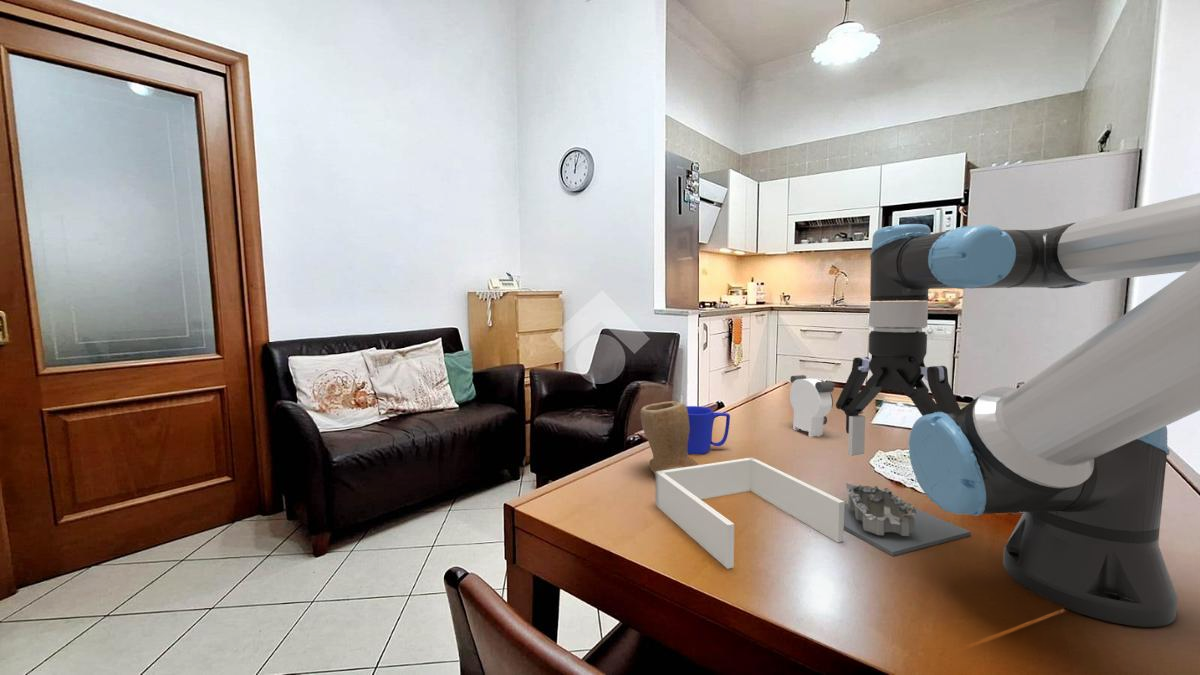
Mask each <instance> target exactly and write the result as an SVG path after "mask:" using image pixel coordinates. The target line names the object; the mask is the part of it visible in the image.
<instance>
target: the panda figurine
mask: <svg viewBox="0 0 1200 675" xmlns="http://www.w3.org/2000/svg"><path fill="white" fill-rule="evenodd" d="M789 380H790V383H791V386H790V389H789V399H790V400H789V401H790V405H791V407H792V409H793V423H792V424H793V425H792V430H793V429H794V430H796V431H803V432H808V437H809V436H810V437H809V438H813V437H812V436H817V437H822V436H823V432H824V426H825V425H826V424H827V423H828V418H827V416H828V414H829V413H830V411H831V410H832V408H833V406H834V398H833V395H832V393H833V391H834V389H835V388H834V387H835V386H834V383H833V382H832V381H829V380H828V381H822V380H820V379H817V378H807V376H806V375H803V374H801V375H799V374H798V375H791V376H790V379H789ZM831 392H832V393H831ZM799 429H801V430H799ZM794 430H793V431H794ZM821 435H822V436H821Z"/></svg>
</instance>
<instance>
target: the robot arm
mask: <svg viewBox="0 0 1200 675" xmlns="http://www.w3.org/2000/svg"><path fill="white" fill-rule="evenodd" d="M869 258H870V278H869V279H870V282H869V283H870V286H869V288H870V292H869V293H870V302H869V317H868V319H869V320H868V321H869V322H868V323H869V324H868V326H869V327H870V328H873V330H870V332H869V333H868V353H869V354H870V355H871V358H870V357H868V356H865V357H864V356H862V357H861V356H860V357H854V358H853V360H852V365H851V370H850V374H849V375H848V378H847V380H846V382H845V384H844V386H843V388H842V390H841V392H840V393H839V397H838V398H837V401H836V403H835V407H836V409H837V410H842V412H844V414H845V416H846V417H845V418H846V419H845V431H846V433H847V434H848V446H847V449H848V451H847V453H848V455H849V456H851V457H852V456H860V455H864V454H865V439H866V437H865V436H866V434H865V433H866V416H865V415H864V412H863V411H864V410H865V408H866V407H868V406H869V404H870V403H871V402H872V401H873V400H874V399H875V398H876V397H877V395H878V394H879V393H880V392H881V391H882V390H883V391H889V390H890V391H893V392H895V393H900V394H901V393H904V395H905V396H906V397H907V398H910V400H911V401H912V404H914V405H915V408H916V409H917V410H918V412H919V413H920V414H921V416H920V417H919V418H917V419H916V420H915V422H914V423H913V425H912V427H911V429H910V433H909V438H908V447H909V448H908V449H909V450H908V454H909V460H910V464H911V468H912V471H913V474H914V476H915V479H916V481H917V483H918V485H919V486H920V488H921V489H922V492H924V494H925V495H926V497H927V498H928V499H929V500H930V501H931V502H933V503H934V504H936V505H937V506H938V507H939V509H941V510H944V511H945V512H948V513H952V514H955V515H956V514H957V515H969V516H974V517H978V516H979V517H980V516H981V515H990V514H1014V513H1022V514H1021V517H1020V519H1019V520H1018V522H1017V524H1016V525H1015V526H1014V529H1013V531H1012V533H1011V534H1010V536H1009V538H1008V540H1007V542H1006V544H1005V546H1004V547H1003V555H1002V567H1003V568H1004V570H1005V572H1006V573H1007V574H1008V575H1009V576H1010V577H1011V578H1012V579H1013V581H1014V580H1015V581H1016V582H1017V583H1018V584H1019V585H1021V586H1023V587H1024V588H1026V589H1028V590H1029V591H1031V592H1033V593H1034V594H1036V595H1038V596H1039V597H1043V598H1044V599H1047V600H1049V601H1051V602H1052V603H1055V604H1059V605H1060V606H1063V607H1064V609H1066V610H1069V611H1071V612H1075V613H1077V614H1081V615H1083V616H1084V615H1085V616H1088V617H1090V618H1095V619H1098V620H1100V621H1101V620H1102V621H1105V622H1109V623H1114V624H1121V625H1126V626H1133V627H1145V628H1151V627H1152V628H1153V627H1154V628H1155V627H1163V626H1167V625H1171V624H1172V623H1173V622H1174V621H1175V620H1176V619H1177V611H1178V610H1177V609H1178V595H1177V592H1176V589H1175V586H1174V583H1173V580H1172V578H1171V575H1170V572H1169V569H1168V567H1167V565H1166V564H1167V563H1166V562H1165V558H1164V556H1163V553H1162V551H1161V548H1160V545H1159V542H1160V540H1159V539H1160V527H1161V520H1162V519H1161V518H1162V511H1163V510H1162V509H1163V508H1162V507H1163V499H1164V498H1163V497H1164V489H1165V478H1166V467H1167V456H1169V455H1170V451H1171V450H1170V449H1169V448H1168V427H1167V426H1169V425H1171V424H1173V423H1175V422H1177V421H1179V420H1182V419H1183V418H1185V417H1186V418H1187V417H1188V416H1190V415H1193V414H1195V413H1197V412H1199V411H1200V192H1198V193H1194V194H1190V195H1186V196H1182V197H1181V196H1180V197H1177V198H1173V199H1169V200H1164V201H1160V202H1156V203H1151V204H1147V205H1143V206H1138V207H1134V208H1130V209H1126V210H1121V211H1118V212H1113V213H1109V214H1104V215H1100V216H1095V217H1092V218H1088V219H1083V220H1078V221H1077V222H1071V223H1066V224H1062V225H1059V226H1054V227H1049V228H1043V229H1042V228H1041V229H1001V228H999V227H997V226H995V225H990V224H981V225H980V224H979V225H972V226H970V225H969V226H967V225H964V226H959V227H956V228H955V229H949V230H946V231H945V230H944V231H940V232H936V233H931V228H930V227H929V226H928V225H927V224H923V223H922V224H921V223H908V224H907V223H906V224H905V223H904V224H896V225H891V226H890V225H889V226H885V227H884V226H883V227H880V228H879V229H876V230H875V232H874V233H873V235H872V244H871V251H870V255H869ZM1176 273H1182V274H1181V275H1180V276H1178V277H1177V278H1176V279H1174V280H1173V281H1171V282H1169V283H1168V284H1167V285H1166V286H1164V287H1162V288H1161V289H1160V290H1158V291H1157V292H1155V293H1153V294H1152V295H1151V296H1149V297H1148V298H1147V299H1145V300H1144V301H1142V302H1141V303H1139V304H1138V305H1136V306H1135V307H1133V308H1132V309H1131V310H1129V311H1127V312H1126V313H1125V314H1123V315H1122V316H1121V317H1118V319H1116V320H1114V321H1113V322H1112V323H1110V324H1109V325H1107V326H1105V327H1104V328H1103V329H1102V330H1100V331H1099V332H1097V333H1096V334H1094V335H1093V336H1090V338H1088V339H1087V340H1085V341H1084V342H1082V343H1081V344H1080V345H1078V346H1077V347H1075V348H1074V349H1072V350H1071V351H1069V352H1068V353H1067V354H1064V356H1062V357H1061V358H1059V359H1058V360H1056V361H1054V362H1053V363H1052V364H1050V365H1049V366H1048V367H1046V368H1045V369H1043V370H1042V371H1040V372H1039V373H1037V374H1036V375H1034V376H1033V377H1032V378H1030V379H1029V380H1027V381H1025V382H1024V383H1023V384H1022V385H1020V386H1019V387H1012V386H1011V387H1009V386H999V387H995V388H991V389H989V390H987V391H985V392H983V393H981V394H980V395H979V396H977V397H976V398H974V399H973V400H972V401H971V402H969V403H967V405H965V406H964V407H962V408H961V407H960V406H959V402H958V401H957V399H956V397H955V394H954V391H953V389H952V387H951V385H950V383H949V374H948V367H947V366H945V365H938V366H937V365H935V366H934V365H933V366H926V365H925V362H924V361H925V360H924V359H925V357H926V355H927V352H928V351H927V350H928V348H927V346H928V334H927V332H925V331H923V329H925V328H927V327H928V317H929V314H928V313H929V311H928V310H929V291H930V290H935V289H936V290H937V289H940V290H941V289H944V290H945V289H946V290H947V289H958V290H964V289H965V290H966V289H1006V288H1007V289H1010V288H1011V289H1012V288H1038V289H1039V288H1047V289H1069V288H1070V289H1071V288H1074V287H1075V288H1076V287H1081V286H1086V285H1088V284H1091V283H1092V282H1093V283H1094V282H1101V281H1110V280H1112V281H1113V280H1119V279H1128V278H1138V277H1139V278H1141V277H1148V276H1157V275H1166V274H1176ZM870 372H871V374H872V375H870V377H869V378H868V380H866V379H867V377H868V375H869V373H870ZM923 379H924V380H926V381H927V384H928V385H926V383H925V381H923ZM864 383H865V385H864ZM863 385H864V386H863ZM862 387H863V388H862ZM928 387H929V388H928ZM929 392H931V394H930V393H929Z"/></svg>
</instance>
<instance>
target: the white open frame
mask: <svg viewBox="0 0 1200 675" xmlns="http://www.w3.org/2000/svg"><path fill="white" fill-rule="evenodd" d="M750 491H751V492H752V493H754V494H755V495H757V496H759V497H760V498H762V499H764V500H765V501H766V502H769V503H771V504H772V505H773V506H775V507H776V508H778V509H780V510H781V511H784V512H785V513H787V514H789V515H790V516H792V517H794V518H795V519H797V520H798V521H800V522H802V523H804V524H805V525H807V526H808V527H810V528H812V529H814V530H816V531H817V532H818V533H821V534H822V535H824V536H826V537H828V538H830V539H831V540H833V541H834V542H836V543H841V542H844V531H845V530H844V504H845V501H844V500H842V499H839V498H837V497H835V496H834V495H832V494H829V493H828V492H825V491H823V490H821V489H819V488H817V487H815V486H812V485H811V484H809V483H807V482H804V481H802V480H800V479H798V478H796V477H794V476H792V475H790V474H788V473H786V472H784V471H782V470H779V469H777V468H775V467H774V466H771V465H769V464H767V463H765V462H763V461H761V460H759V459H756V458H755V457H752V456H751V457H745V458H739V459H732V460H726V461H717V462H712V463H706V464H699V465H697V466H690V467H683V468H676V469H670V470H663V471H656V475H655V494H654V495H655V506H656V507H657V508H659V510H660V511H662V513H664V514H665V516H667V517H668V518H669V519H671V521H673V522H674V523H675V524H676V525H677V526H678V527H680V528H681V530H683V531H684V532H685V533H686V534H687V535H688V536H690V537H691V538H692V539H693V540H694V541H695V542H696V543H698V545H699V546H701V547H702V548H703V549H704V550H705V551H706V552H708V553H709V554H710V555H711V556H712V558H714V559H715V560H717V561H718V563H720V564H722V566H723V567H725V569H727V570H729V569H733V568H734V567H735V565H734V564H735V557H734V556H735V523H733V521H731V520H730V519H728V518H727V517H725V516H724V515H722V514H721V513H720V512H718V511H717V510H715V508H713V507H712V506H710V505H709V504H707V503H706V502H705V501H703V500H707V499H712V498H717V497H722V496H723V497H724V496H728V495H733V494H740V493H744V492H750Z"/></svg>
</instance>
